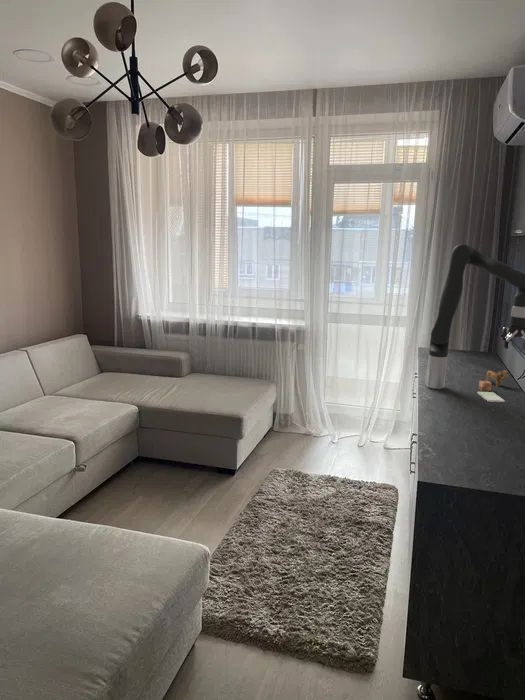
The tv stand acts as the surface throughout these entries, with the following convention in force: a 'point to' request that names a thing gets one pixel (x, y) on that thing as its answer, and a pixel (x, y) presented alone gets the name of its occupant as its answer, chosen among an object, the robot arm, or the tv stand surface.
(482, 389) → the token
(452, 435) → the tv stand surface
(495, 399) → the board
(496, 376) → the lion figurine
